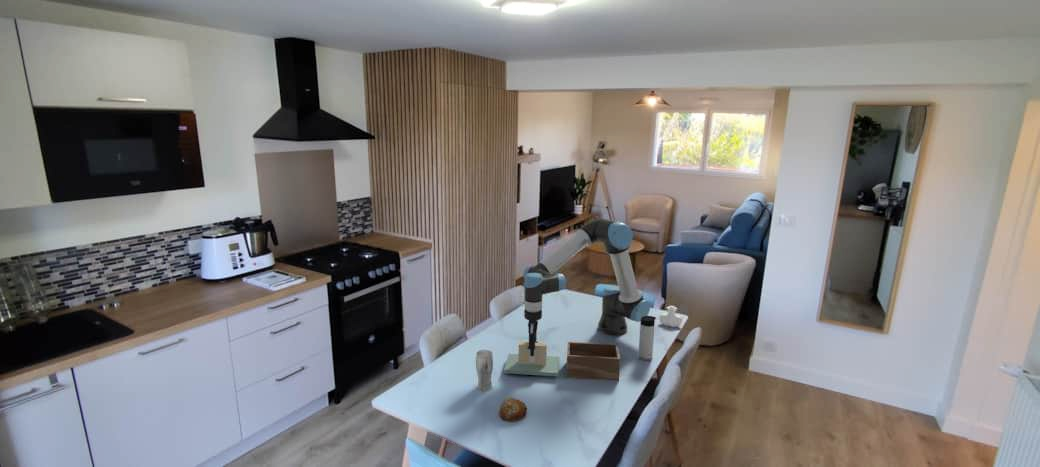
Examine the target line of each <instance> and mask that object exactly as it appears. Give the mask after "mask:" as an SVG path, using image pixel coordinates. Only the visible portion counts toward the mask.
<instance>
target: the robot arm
mask: <svg viewBox="0 0 1040 467" xmlns="http://www.w3.org/2000/svg"><path fill="white" fill-rule="evenodd" d="M633 238H634V233H633V230H632V228H630V226H629V224H628V225H627V224H626V223H623V222H621V221H615V220H611V219H607V218H603V217H602V218H596V219H593V220H591V221H588V222H587V223H585V224H584V225H582V226H580V228H578V229H577V230H576V232H575V234H574V235H573V236H571V237H570V238H568V240H566V241H565V242H564V243H563V244H561V245H560V246H558V247H557V248H556V249H554V251H552V252H551V253H550V254H549V255H547V256H546V257H544V258H543V259H542V260H541V261H540V262H538V263H537V264H536V265H528V266H526V267H525V269H524V270H523V274H522V276H523V279H524V284H523V285H524V288H523V289H524V291H523V292H524V294H523V295H524V301H523V302H522V304H524V309H523V310H524V312H523V317H524V319H525V320H527V321H528V322H527V327H528V342H529V347H528V349H529V362H535V353H536V348H535V343H539V342H538V341H539V340H538V338H537V337H538V336H537V331H538V324H539V321H540V320H541V319H542V318H543V311H542V309H543V295H547V294H551V293H557V292H560V291H564V290H565V288H567V279H566V276H565V275H564V274H563V273H557V272H556V273H555V271H557V270H558V269H559V268H561V267H562V266H563V265H564V264H566V263H568V261H569V260H570V259H572V258H573V257H575V256H576V255H577V254H579V252H581V251H582V250H583V249H584V248H585V247H590V246H592V245H594V244H595V243H599V244H603V247H604V250H605V253H606V254H608V255H609V256H610V259H611V264H612V268H613V271H614V274H615V278H616V281H617V285H610V286H606V287H604V288H603V290H602V291H603V292H602V301H601V302H602V305H601V316H600V318H599V320H598V324H597V329H598V331H600V332H601V333H604V334H607V335H612V336H613V335H615V336H617V335H624V334H626V333H627V332H628V324H627V320H626V318H627V319H628V320H631V321H633V322H636V323H637V322H638V323H639V322H640V323H641V318H642V317H643V316H649V313H650V310H651V302H649V300H648V299H645V298H644V295H643V292H642V290H641V289H638V285H637V281H636V277H635V272H634V270H633V265H632V261H631V257H630V253H629V249H630V248H631V244H632V243H633ZM537 340H538V341H537Z"/></svg>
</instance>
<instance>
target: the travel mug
mask: <svg viewBox="0 0 1040 467" xmlns="http://www.w3.org/2000/svg"><path fill="white" fill-rule="evenodd" d="M656 320H657V317H656V316H652V315H647V316H643V317H642V318H641V321H640V326H639V340H638V342H639V343H638V358H639V359H640V360H642V361H651V360H653V356H654V355H653V353H654V352H653V351H654V338H655V325H656V324H655V322H656Z"/></svg>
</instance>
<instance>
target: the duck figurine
mask: <svg viewBox="0 0 1040 467" xmlns="http://www.w3.org/2000/svg"><path fill="white" fill-rule="evenodd" d="M666 309H667V312H668V313H666V312H665V313H662V314H660V315H659V318H658V319H659V322H660V324H662V325H664V326H665V327H672V328H675V327H676V328H677V327H678V328H679V327H681V325H682V323H683V317H681V316H680V315H678V314H675V313H676V312H677V310H678V308H677V307H676V306H675V305H669V306H666Z"/></svg>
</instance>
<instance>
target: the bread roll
mask: <svg viewBox="0 0 1040 467" xmlns="http://www.w3.org/2000/svg"><path fill="white" fill-rule="evenodd" d="M527 410H528V407H527V405H526V402H524V401H521V400H520V399H517V398H514V397H512V396H511V397H508V398H505V400H503V401H502V403H500V409H499V413H498V414H499V417H500V418H501V419H502V420H503V421H504V422H509V423H514V422H518V421H522V420H523V419H524V418H525V417H526V415H527V413H528V412H527Z"/></svg>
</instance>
